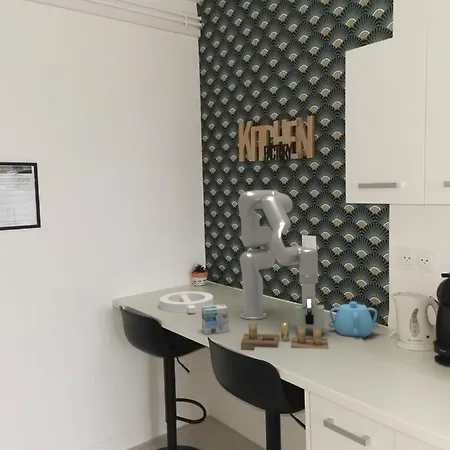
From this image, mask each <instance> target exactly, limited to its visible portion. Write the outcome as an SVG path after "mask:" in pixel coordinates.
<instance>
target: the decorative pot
mask: <svg viewBox="0 0 450 450" xmlns="http://www.w3.org/2000/svg"><path fill="white" fill-rule="evenodd" d="M334 311H336V314H335V316H333V312H334ZM369 311H373V312H374V316H373V317H372V316H371V313H370V312H369ZM329 317H330V320H331V321H329V322H328V326H329V328H331V329H335V331H336V332H337V334H339V335H341V336H345V337H361V338H363V339H366V337H368V336H370V335H372V332H373V330H375V329H378V328H379V323H378V322H377V321H376V320H377V318H378V311H377V310H376V308H373V307H366V306H365V305H363V304H359V303H358V302H357V301H349V302H348V304H347V303H346V304H345V303H344V304H341V305H340V306H339V307H333V308H331V309H330V310H329ZM372 318H373V319H372ZM331 324H332V325H331Z"/></svg>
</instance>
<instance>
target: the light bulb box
mask: <svg viewBox="0 0 450 450" xmlns="http://www.w3.org/2000/svg"><path fill="white" fill-rule="evenodd" d="M201 325H202V326H201V328H202V329H201V330H202V332H203V333H204V335H214V334H223V333H229V332H230V331H229V329H230V327H229V307H227V305H226V304H213V305H212V306H202V311H201Z"/></svg>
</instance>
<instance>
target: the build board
mask: <svg viewBox="0 0 450 450" xmlns="http://www.w3.org/2000/svg"><path fill="white" fill-rule="evenodd" d="M279 340H280V334H278V333H258V324H257V323H256V322H250V323H248V332H247V333H245V332H244V334H243V336H242V339H241V342H240V350H243V351H244V350H248V351H251V350H252V351H254V350H255V348H277V349H278V346H279Z"/></svg>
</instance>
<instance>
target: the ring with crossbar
mask: <svg viewBox="0 0 450 450" xmlns="http://www.w3.org/2000/svg"><path fill="white" fill-rule="evenodd" d="M212 305H214V295H213V294H211V293H210V292H204V291H193V290H191V291H189V290H188V291H178V292H176V291H175V292H172V293H167V294H164V295H161V297H159V309H160V310H161V311H163V310H164V311H163V312H166V311H168V313H172V312H174V313H175V314H186V313H187V314H188V313H189V314H196V313H198V312H202V306H212ZM174 313H173V314H174Z"/></svg>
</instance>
